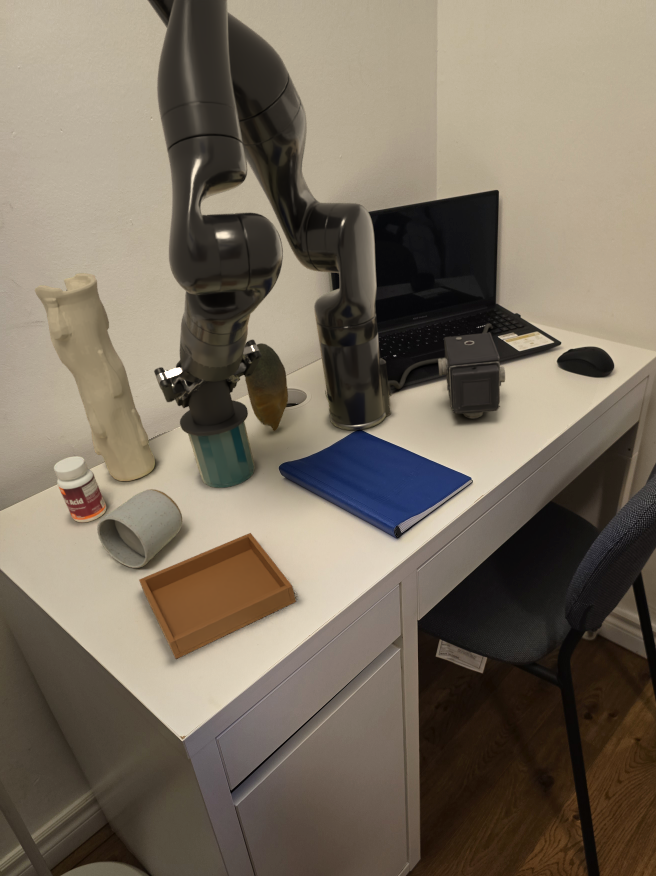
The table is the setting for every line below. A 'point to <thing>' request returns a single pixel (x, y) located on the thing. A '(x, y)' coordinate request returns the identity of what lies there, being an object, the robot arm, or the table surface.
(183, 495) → the table surface
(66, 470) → the pill bottle
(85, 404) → the vase
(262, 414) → the decorative stone
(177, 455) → the table surface
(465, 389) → the camera
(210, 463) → the cup
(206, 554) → the tray
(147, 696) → the table surface
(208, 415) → the flanged dark cylinder
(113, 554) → the ceramic mug
